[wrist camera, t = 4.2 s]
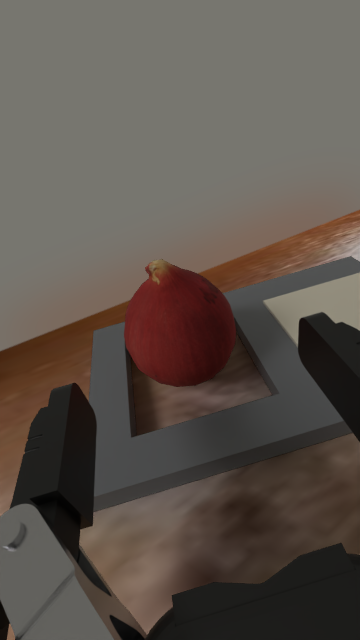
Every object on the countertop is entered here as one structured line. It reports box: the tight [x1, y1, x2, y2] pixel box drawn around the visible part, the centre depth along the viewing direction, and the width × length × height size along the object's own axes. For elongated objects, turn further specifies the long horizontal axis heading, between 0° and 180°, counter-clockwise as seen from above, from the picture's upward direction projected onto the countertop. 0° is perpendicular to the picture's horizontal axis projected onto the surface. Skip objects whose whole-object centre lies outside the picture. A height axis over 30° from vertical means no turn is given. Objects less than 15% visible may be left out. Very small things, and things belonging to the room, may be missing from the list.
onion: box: [124, 259, 236, 387], centre depth 16 cm, size 6×6×8 cm
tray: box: [89, 256, 360, 512], centre depth 18 cm, size 20×12×1 cm, turn 101°
